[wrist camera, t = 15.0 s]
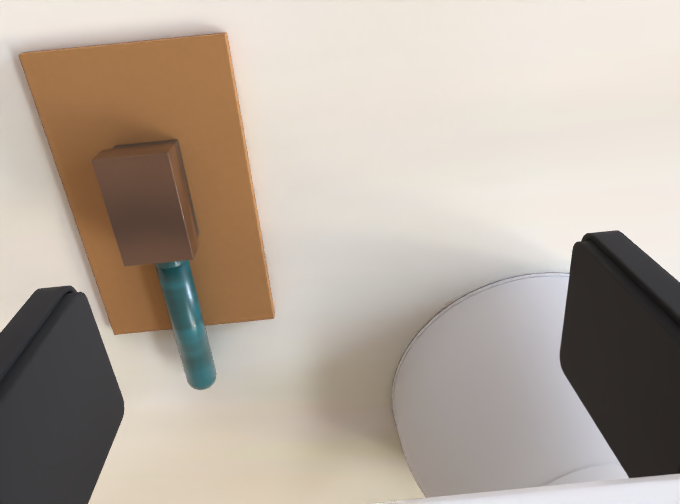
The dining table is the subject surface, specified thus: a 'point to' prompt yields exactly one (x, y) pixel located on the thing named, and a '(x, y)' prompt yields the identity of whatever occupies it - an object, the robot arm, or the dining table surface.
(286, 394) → the dining table surface
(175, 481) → the dining table surface
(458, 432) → the kettle
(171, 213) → the brush
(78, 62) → the cork mat
